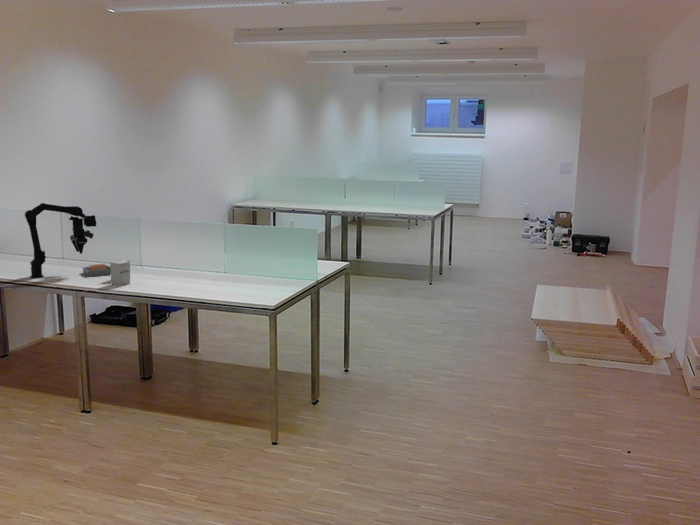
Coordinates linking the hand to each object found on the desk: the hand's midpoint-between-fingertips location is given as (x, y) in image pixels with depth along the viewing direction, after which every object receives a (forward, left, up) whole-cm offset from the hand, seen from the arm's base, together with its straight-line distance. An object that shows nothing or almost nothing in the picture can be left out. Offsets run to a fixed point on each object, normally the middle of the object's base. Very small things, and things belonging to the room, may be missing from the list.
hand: (79, 252), depth 382 cm
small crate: (+6, +9, -12) cm, 16 cm away
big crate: (+6, +9, -13) cm, 17 cm away
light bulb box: (+30, +16, -13) cm, 37 cm away
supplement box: (+45, +12, -13) cm, 48 cm away
